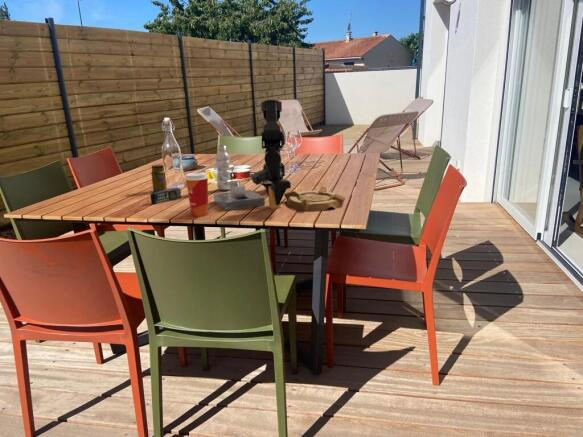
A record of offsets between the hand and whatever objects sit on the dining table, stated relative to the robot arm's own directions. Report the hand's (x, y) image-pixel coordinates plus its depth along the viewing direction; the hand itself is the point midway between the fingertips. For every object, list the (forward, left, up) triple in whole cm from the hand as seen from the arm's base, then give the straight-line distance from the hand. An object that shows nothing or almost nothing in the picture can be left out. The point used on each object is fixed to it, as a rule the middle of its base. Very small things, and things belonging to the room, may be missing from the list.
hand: (274, 203), depth 167 cm
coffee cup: (+28, -4, -2) cm, 28 cm away
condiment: (+35, -52, -2) cm, 63 cm away
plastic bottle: (+8, -40, -2) cm, 41 cm away
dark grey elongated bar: (+35, -32, -2) cm, 48 cm away
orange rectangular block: (0, 0, -2) cm, 2 cm away
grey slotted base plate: (+10, -13, -2) cm, 16 cm away
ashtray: (-16, +2, -2) cm, 16 cm away
